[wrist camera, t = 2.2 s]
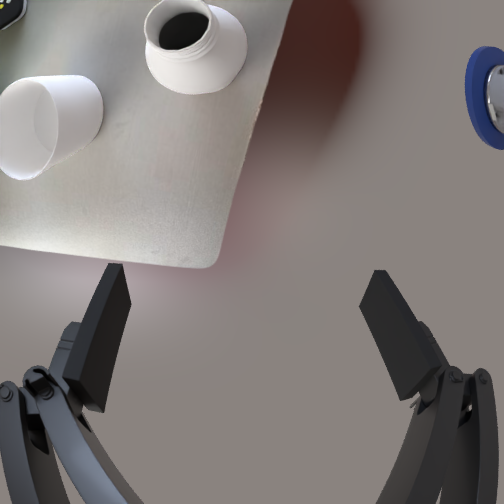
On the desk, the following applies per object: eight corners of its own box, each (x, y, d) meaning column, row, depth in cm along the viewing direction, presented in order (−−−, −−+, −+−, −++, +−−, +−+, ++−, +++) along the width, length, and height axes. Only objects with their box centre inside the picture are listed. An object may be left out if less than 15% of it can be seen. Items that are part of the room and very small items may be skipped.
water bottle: (227, 99, 32) (230, 115, 11) (173, 85, 30) (82, 86, 9) (245, 50, 28) (285, -19, 8) (191, 36, 27) (133, -45, 6)
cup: (32, 98, 27) (-20, 111, 17) (93, 61, 26) (45, 57, 16) (52, 164, 33) (6, 195, 23) (114, 135, 33) (73, 157, 23)
